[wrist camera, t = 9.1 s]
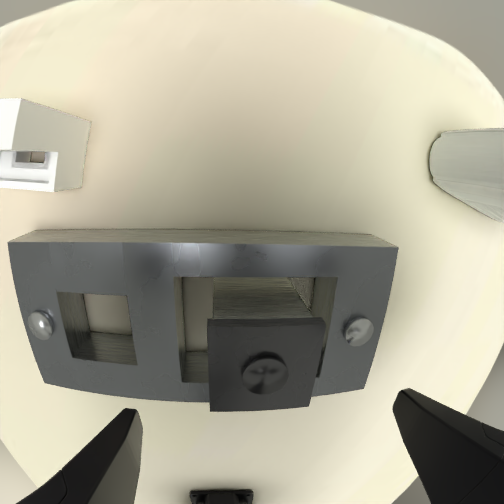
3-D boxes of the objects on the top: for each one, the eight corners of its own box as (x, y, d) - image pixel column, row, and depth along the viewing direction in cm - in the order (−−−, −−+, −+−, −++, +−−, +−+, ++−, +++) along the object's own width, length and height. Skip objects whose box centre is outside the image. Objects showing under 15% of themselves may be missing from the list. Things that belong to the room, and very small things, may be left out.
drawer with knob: (282, 339, 17) (310, 410, 11) (210, 340, 17) (210, 416, 11) (290, 272, 16) (329, 328, 10) (210, 271, 16) (207, 330, 10)
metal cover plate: (346, 362, 19) (366, 392, 15) (61, 357, 16) (42, 386, 13) (370, 234, 16) (402, 249, 13) (35, 230, 14) (3, 244, 11)
